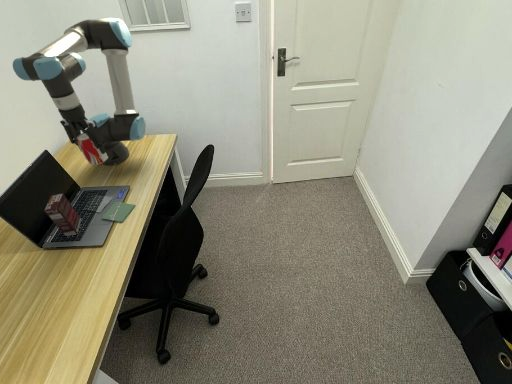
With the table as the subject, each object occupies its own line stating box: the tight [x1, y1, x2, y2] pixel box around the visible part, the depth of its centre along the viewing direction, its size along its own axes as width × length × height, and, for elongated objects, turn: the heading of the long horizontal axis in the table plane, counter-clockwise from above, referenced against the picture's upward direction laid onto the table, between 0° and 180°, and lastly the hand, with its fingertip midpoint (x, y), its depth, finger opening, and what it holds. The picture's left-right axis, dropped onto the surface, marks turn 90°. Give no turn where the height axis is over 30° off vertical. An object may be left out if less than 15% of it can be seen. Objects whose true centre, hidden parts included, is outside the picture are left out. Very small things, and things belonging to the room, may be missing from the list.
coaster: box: [101, 202, 136, 223], centre depth 120 cm, size 10×10×1 cm
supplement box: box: [43, 193, 83, 237], centre depth 109 cm, size 9×5×16 cm, turn 13°
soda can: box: [77, 132, 103, 166], centre depth 111 cm, size 7×7×12 cm
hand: (97, 158), depth 114 cm, fingers closed on soda can, 7 cm apart
